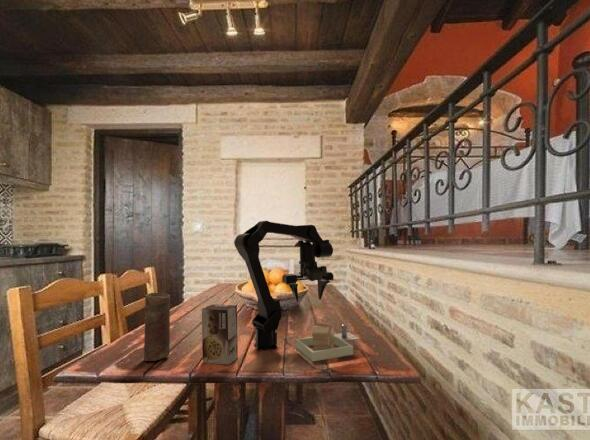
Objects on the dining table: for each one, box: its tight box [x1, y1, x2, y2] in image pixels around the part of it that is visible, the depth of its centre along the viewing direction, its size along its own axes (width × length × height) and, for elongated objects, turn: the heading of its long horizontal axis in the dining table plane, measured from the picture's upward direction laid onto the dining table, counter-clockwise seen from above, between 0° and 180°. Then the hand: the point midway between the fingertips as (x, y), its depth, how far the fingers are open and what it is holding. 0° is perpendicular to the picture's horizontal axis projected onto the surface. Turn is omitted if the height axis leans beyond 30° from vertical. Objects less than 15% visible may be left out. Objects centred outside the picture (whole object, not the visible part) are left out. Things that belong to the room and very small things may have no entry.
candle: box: [143, 292, 171, 362], centre depth 105 cm, size 8×7×20 cm
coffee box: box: [201, 304, 239, 365], centre depth 103 cm, size 9×6×16 cm
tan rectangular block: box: [311, 322, 335, 351], centre depth 106 cm, size 5×5×8 cm
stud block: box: [334, 323, 360, 342], centre depth 120 cm, size 8×8×5 cm
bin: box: [295, 335, 354, 366], centre depth 106 cm, size 14×14×4 cm
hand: (308, 300), depth 124 cm, fingers open, 9 cm apart
